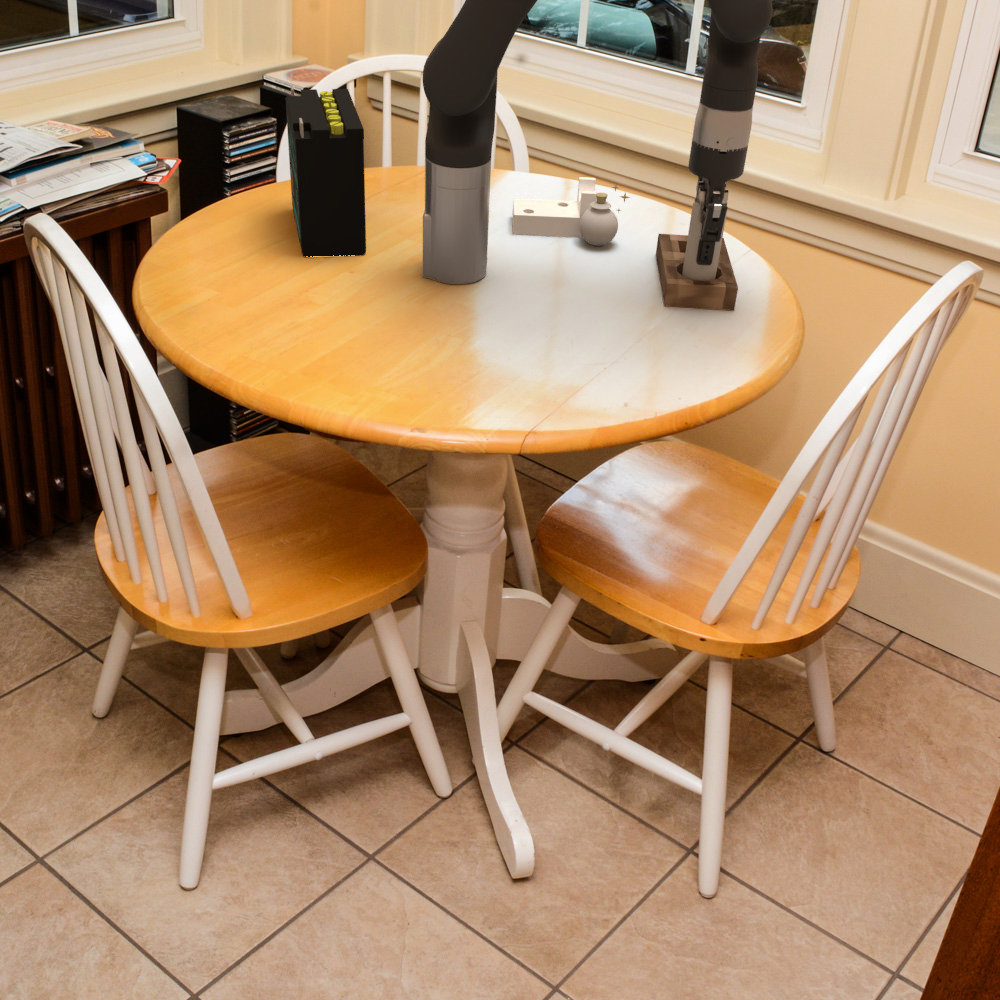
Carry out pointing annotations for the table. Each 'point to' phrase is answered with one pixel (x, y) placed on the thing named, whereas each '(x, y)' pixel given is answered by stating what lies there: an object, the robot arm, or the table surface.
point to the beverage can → (690, 264)
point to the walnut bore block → (688, 290)
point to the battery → (327, 172)
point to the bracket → (553, 213)
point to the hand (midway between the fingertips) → (701, 255)
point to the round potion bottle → (599, 221)
